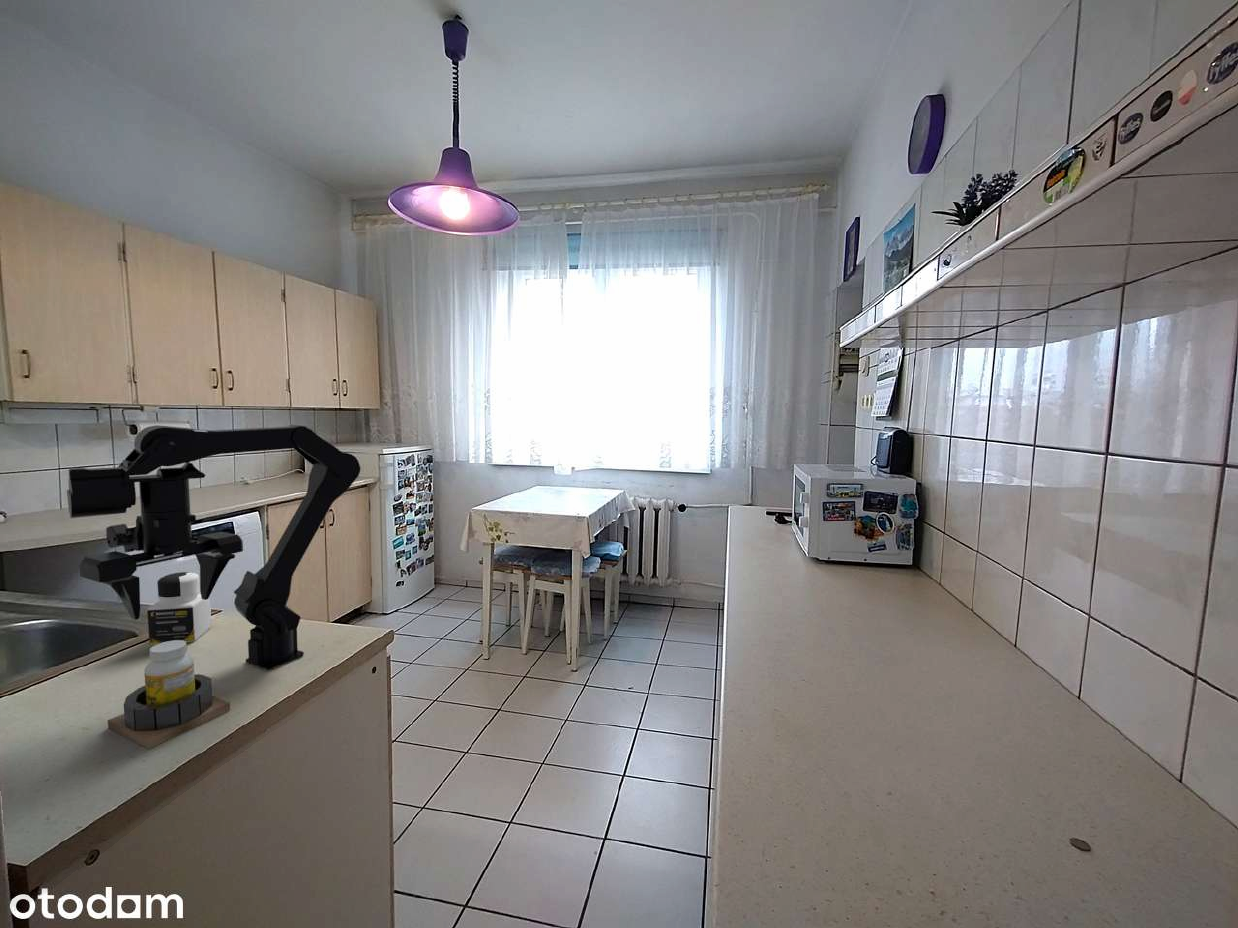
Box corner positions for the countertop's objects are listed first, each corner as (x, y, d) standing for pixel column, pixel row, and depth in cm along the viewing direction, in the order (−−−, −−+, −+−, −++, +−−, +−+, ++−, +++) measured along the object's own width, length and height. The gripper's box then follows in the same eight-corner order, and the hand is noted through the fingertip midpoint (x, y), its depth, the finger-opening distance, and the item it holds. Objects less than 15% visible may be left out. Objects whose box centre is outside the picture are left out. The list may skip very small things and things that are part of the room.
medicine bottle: (148, 645, 98) (144, 582, 97) (169, 629, 105) (165, 570, 104) (194, 642, 100) (191, 580, 99) (212, 627, 107) (209, 568, 105)
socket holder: (190, 693, 83) (189, 667, 83) (230, 710, 79) (228, 682, 79) (108, 728, 74) (106, 699, 73) (148, 748, 70) (146, 718, 70)
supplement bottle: (200, 709, 77) (197, 645, 76) (151, 726, 73) (147, 658, 72) (190, 695, 80) (187, 634, 79) (143, 710, 76) (139, 646, 75)
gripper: (202, 495, 93) (206, 582, 95) (55, 513, 76) (64, 619, 78) (243, 501, 89) (247, 593, 90) (97, 523, 72) (105, 635, 73)
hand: (171, 608), depth 83 cm, fingers open, 9 cm apart
